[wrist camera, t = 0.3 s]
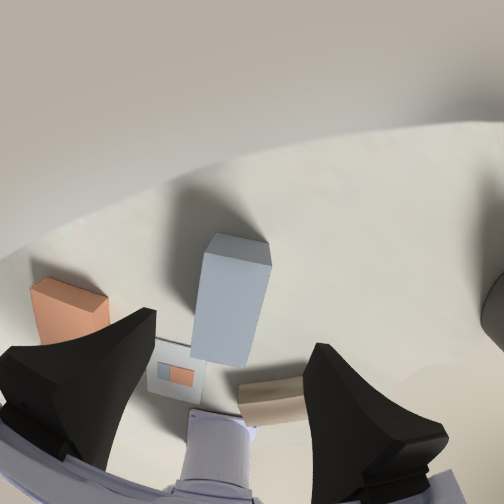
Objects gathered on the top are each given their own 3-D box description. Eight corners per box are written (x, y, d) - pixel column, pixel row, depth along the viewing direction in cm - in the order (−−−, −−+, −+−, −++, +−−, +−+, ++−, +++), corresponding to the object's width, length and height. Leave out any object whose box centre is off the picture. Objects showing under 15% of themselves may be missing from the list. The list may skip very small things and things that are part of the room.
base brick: (113, 360, 25) (102, 378, 22) (57, 338, 24) (43, 351, 21) (108, 297, 22) (92, 313, 19) (47, 276, 22) (29, 288, 19)
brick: (320, 395, 26) (325, 415, 23) (247, 406, 26) (246, 427, 24) (318, 370, 25) (323, 391, 22) (239, 383, 25) (237, 404, 22)
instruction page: (200, 403, 26) (199, 405, 26) (147, 389, 26) (147, 391, 25) (208, 350, 24) (207, 352, 23) (146, 335, 23) (145, 337, 23)
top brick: (247, 330, 23) (244, 368, 18) (201, 321, 23) (189, 357, 18) (268, 242, 21) (272, 266, 16) (216, 231, 20) (204, 252, 16)
